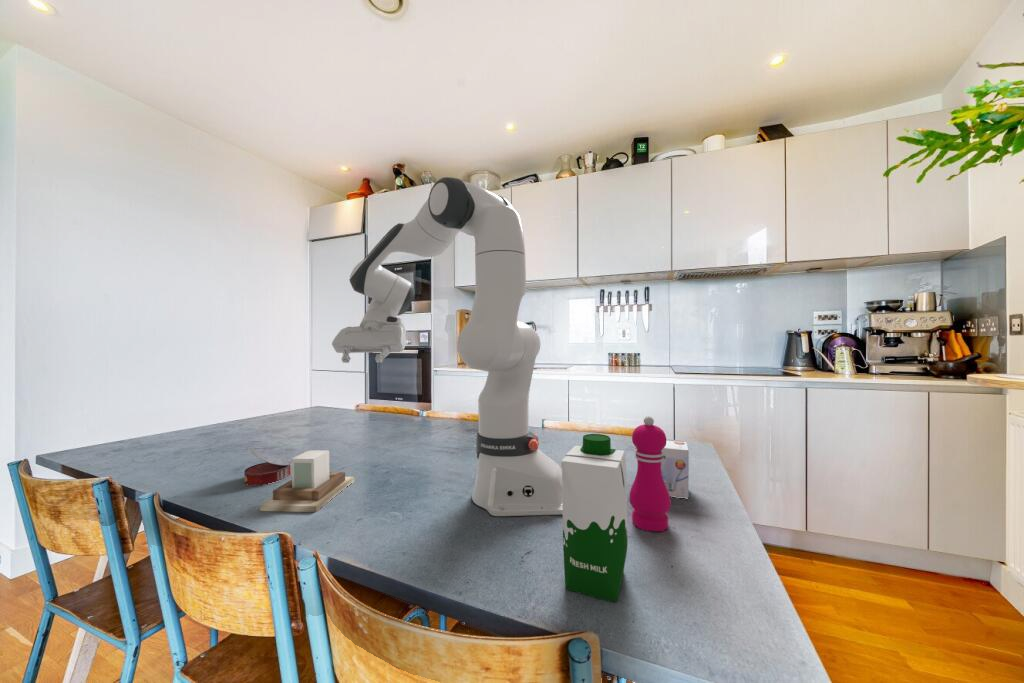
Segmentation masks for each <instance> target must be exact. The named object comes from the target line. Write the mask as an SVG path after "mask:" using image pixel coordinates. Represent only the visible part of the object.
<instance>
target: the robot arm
mask: <svg viewBox="0 0 1024 683" xmlns="http://www.w3.org/2000/svg"><path fill="white" fill-rule="evenodd" d="M459 232H461V233H464V234H466V235H468V236H472V237H474V253H475V254H474V259H475V260H474V263H475V274H474V276H475V292H474V299H473V304H472V309H471V312H470V315H469V318H468V321H467V323H466V324H465V325H464V327H462V329H461V330H460V332H459V335H458V337H457V343H456V344H457V346H456V348H457V352H458V356H459V358H460V359H461V361H462V363H463V364H465V366H467V367H469V368H471V369H473V370H477V371H482V372H487V376H486V381H485V384H484V386H483V389H482V390H481V392H480V394H479V396H478V399H477V401H478V402H477V405H478V407H477V408H478V410H477V412H478V432H477V433H476V440H475V444H476V445H475V447H476V448H475V449H476V450H475V451H476V458H477V466H476V467H477V468H476V478H475V482H474V487H473V491H472V495H471V499H472V501H473V503H474V504H475V505H477V506H479V507H481V508H483V509H485V510H486V511H487V512H488V513H489V514H490V515H491V516H494V517H513V516H514V517H517V516H519V517H520V516H551V515H557V516H558V515H563V502H562V487H563V480H562V467H561V466H560V465H559V464H558V463H557V462H556V461H554V460H553V459H551V458H550V457H549V456H547V454H545V453H544V452H542V451H541V450H540V449H539V444H540V442H539V437H538V436H539V435H538V433H535V434H534V433H533V432H532V431H530V430H529V429H530V426H529V425H530V424H529V420H530V419H529V418H530V417H529V414H530V413H529V411H530V409H529V406H530V405H529V402H530V401H529V399H530V391H531V389H530V388H531V384H532V379H533V373H534V368H535V363H536V360H537V359H536V358H537V356H538V354H539V353H540V349H541V339H540V336H539V334H538V332H537V331H536V330H535V329H534V328H533V327H531V325H529V324H527V323H525V322H524V321H519V320H518V317H519V316H518V315H519V311H520V306H521V302H522V299H523V298H524V296H525V294H526V291H527V273H526V248H525V245H526V244H525V237H524V231H523V225H522V222H521V217H520V215H519V213H518V211H517V210H516V209H514V207H513V205H512V204H511V202H509V200H507V198H504V197H503V196H501V195H497V194H496V193H493V192H492V191H490V190H487V189H486V188H484V187H483V186H480V185H478V184H474V183H471V182H469V181H463V180H462V179H459V178H457V177H451V176H450V177H449V176H446V177H441V178H439V179H438V180H437V181H436V182H435V183H434V184H433V186H432V187H431V190H430V192H429V195H428V198H427V199H426V201H425V202H424V204H422V206H421V207H420V209H419V211H418V212H417V214H416V216H415V217H414V218H413V219H412V220H410V221H408V222H406V223H400V222H398V223H397V224H395V225H394V226H393V227H391V229H389V231H387V233H386V234H385V235H384V236H383V237H382V238H381V239H380V240H379V242H378V243H376V245H375V246H374V247H373V248H372V250H370V252H369V253H368V254H366V256H365V257H364V258H363V259H362V260H361V261H359V262H358V263H357V264H356V265H355V266H354V267H353V269H352V271H351V273H350V276H349V280H348V281H349V283H350V286H351V287H352V289H353V291H354V292H357V293H359V294H361V295H363V296H367V297H369V298H371V301H370V303H369V305H368V310H366V312H365V313H364V315H363V318H362V320H361V322H360V324H359V326H346V327H344V328H342V329H340V330H339V331H338V332H337V334H336V336H335V337H334V338H333V340H332V342H331V346H332V348H333V350H334V351H335V352H336V353H337V354H342V356H341V362H342V363H343V364H345V363H346V364H349V363H350V361H351V357H350V354H351V353H352V354H353V353H355V354H360V353H361V354H362V353H363V354H364V353H372V354H373V353H376V355H375V359H374V360H375V362H376V363H383V361H384V360H385V358H386V357H388V356H389V355H390V354H391V353H400V352H403V351H404V350H405V347H406V344H407V338H406V336H407V331H406V330H407V329H406V326H405V324H404V322H403V320H402V318H401V317H397V316H401V315H403V314H405V313H407V311H408V310H409V309H410V306H411V304H412V302H413V300H414V296H415V288H414V285H413V283H412V282H410V281H409V280H408V279H405V278H403V277H402V276H400V275H397V274H395V273H394V272H392V271H391V270H389V269H387V268H385V267H383V266H382V265H381V264H382V263H384V262H385V260H386V259H387V258H388V257H389V256H390V255H391V254H393V253H406V254H411V255H415V256H418V257H421V258H422V257H423V258H432V257H438V256H440V255H442V254H443V253H445V251H447V249H448V248H449V247H450V246H451V244H452V242H453V241H454V240H455V238H456V236H457V235H458V233H459Z"/></svg>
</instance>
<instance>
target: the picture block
mask: <svg viewBox="0 0 1024 683" xmlns="http://www.w3.org/2000/svg"><path fill="white" fill-rule="evenodd" d="M329 472H330V451H329V450H321V449H320V450H307V451H305V452H303V453H301V454H299V455H296V456H294V457H292V458H291V480H292V488H317V487H318V486H320V485H321V484H323V483H324V482H326V481H327V480H329V479H330V475H329Z"/></svg>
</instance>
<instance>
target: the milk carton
mask: <svg viewBox="0 0 1024 683" xmlns="http://www.w3.org/2000/svg"><path fill="white" fill-rule="evenodd" d="M611 447H612V446H611V437H610V436H609V435H606V434H603V433H602V434H600V433H589V434H584V435H583V436H582V445H574V446H573V447H572V448H571V449H570V450H569V451H568V452H566V454H565V456H564V457H563V459H561V471H562V480H563V487H562V502H563V514H562V542H563V544H562V546H563V567H564V569H563V570H564V589H565V590H568V591H571V592H575V593H579V594H583V595H586V596H590V597H594V598H598V599H602V600H605V601H608V602H612V603H616V604H617V602H618V600H619V599H618V598H619V596H620V594H619V593H620V589H621V586H622V581H623V575H624V571H625V566H626V558H627V554H628V542H629V541H628V533H629V532H628V482H627V463H626V451H625V450H622V449H621V450H619V449H618V450H617V449H615V448H611Z"/></svg>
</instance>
